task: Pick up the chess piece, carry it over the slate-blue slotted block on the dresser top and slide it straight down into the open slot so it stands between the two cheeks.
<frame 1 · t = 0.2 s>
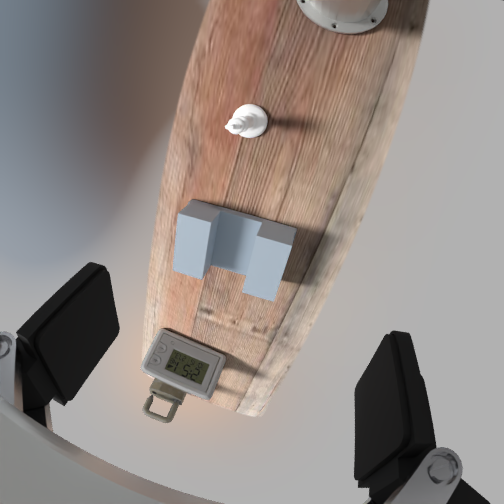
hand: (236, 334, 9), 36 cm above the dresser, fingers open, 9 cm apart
digital clock: (192, 345, 65), on the dresser
padlock: (177, 371, 71), on the dresser
slot block: (237, 240, 49), on the dresser
chess piece: (250, 120, 40), on the dresser
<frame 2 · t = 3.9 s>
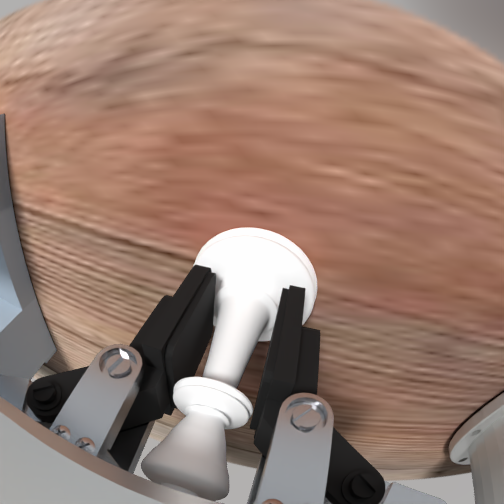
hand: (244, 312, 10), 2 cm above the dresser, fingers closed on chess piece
chess piece: (254, 282, 12), on the dresser, touching gripper
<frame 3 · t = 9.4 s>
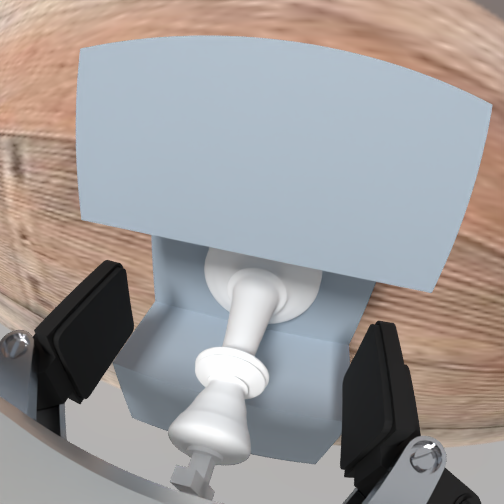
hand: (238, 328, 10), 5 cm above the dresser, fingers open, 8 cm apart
slot block: (264, 252, 14), on the dresser
chess piece: (264, 268, 13), point 1 cm above the dresser, touching slot block
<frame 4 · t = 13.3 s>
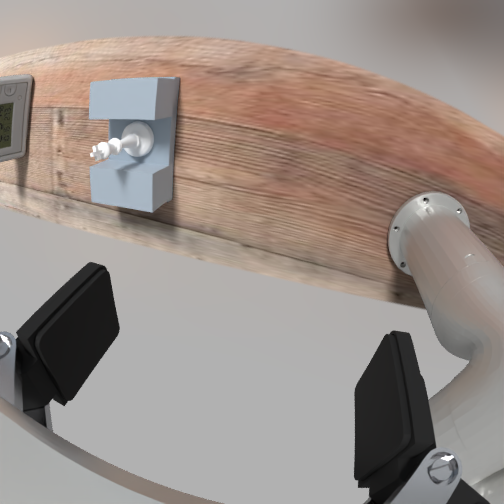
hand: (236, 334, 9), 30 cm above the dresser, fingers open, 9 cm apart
digital clock: (24, 114, 39), on the dresser
slot block: (142, 137, 38), on the dresser
chess piece: (139, 138, 37), point 1 cm above the dresser, touching slot block
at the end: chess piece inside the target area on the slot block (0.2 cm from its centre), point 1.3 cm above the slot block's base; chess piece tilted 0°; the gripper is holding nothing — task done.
